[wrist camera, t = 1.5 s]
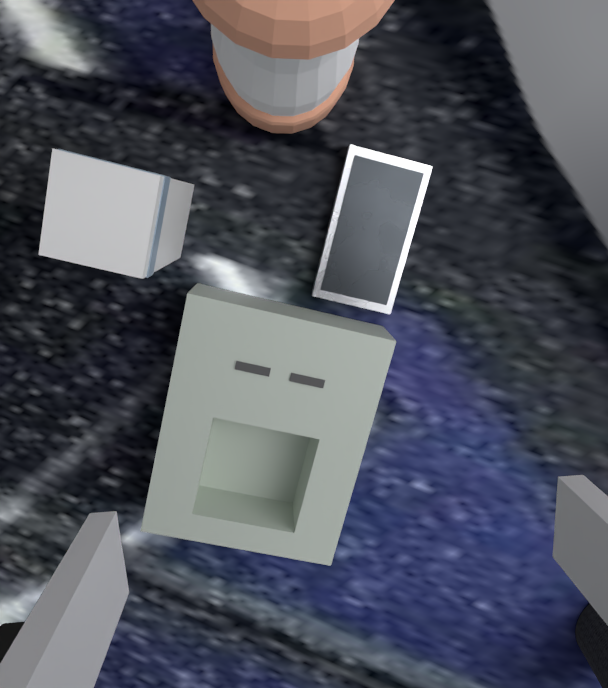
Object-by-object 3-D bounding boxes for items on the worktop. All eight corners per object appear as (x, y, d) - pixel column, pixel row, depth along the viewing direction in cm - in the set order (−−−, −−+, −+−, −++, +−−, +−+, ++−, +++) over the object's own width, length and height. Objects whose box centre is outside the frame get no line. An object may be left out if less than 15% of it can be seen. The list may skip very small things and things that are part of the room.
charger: (106, 240, 33) (37, 255, 23) (118, 164, 32) (51, 146, 22) (181, 258, 33) (143, 280, 24) (195, 183, 32) (162, 174, 23)
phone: (311, 293, 34) (312, 296, 33) (347, 146, 32) (350, 144, 31) (387, 311, 35) (390, 314, 34) (427, 167, 33) (432, 166, 32)
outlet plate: (197, 283, 34) (187, 293, 30) (382, 326, 35) (396, 341, 31) (154, 497, 37) (140, 532, 33) (325, 529, 38) (330, 566, 35)
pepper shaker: (255, -34, 30) (224, -429, 11) (369, 38, 31) (513, -210, 12) (196, 93, 31) (82, -73, 13) (308, 157, 32) (355, 93, 14)
